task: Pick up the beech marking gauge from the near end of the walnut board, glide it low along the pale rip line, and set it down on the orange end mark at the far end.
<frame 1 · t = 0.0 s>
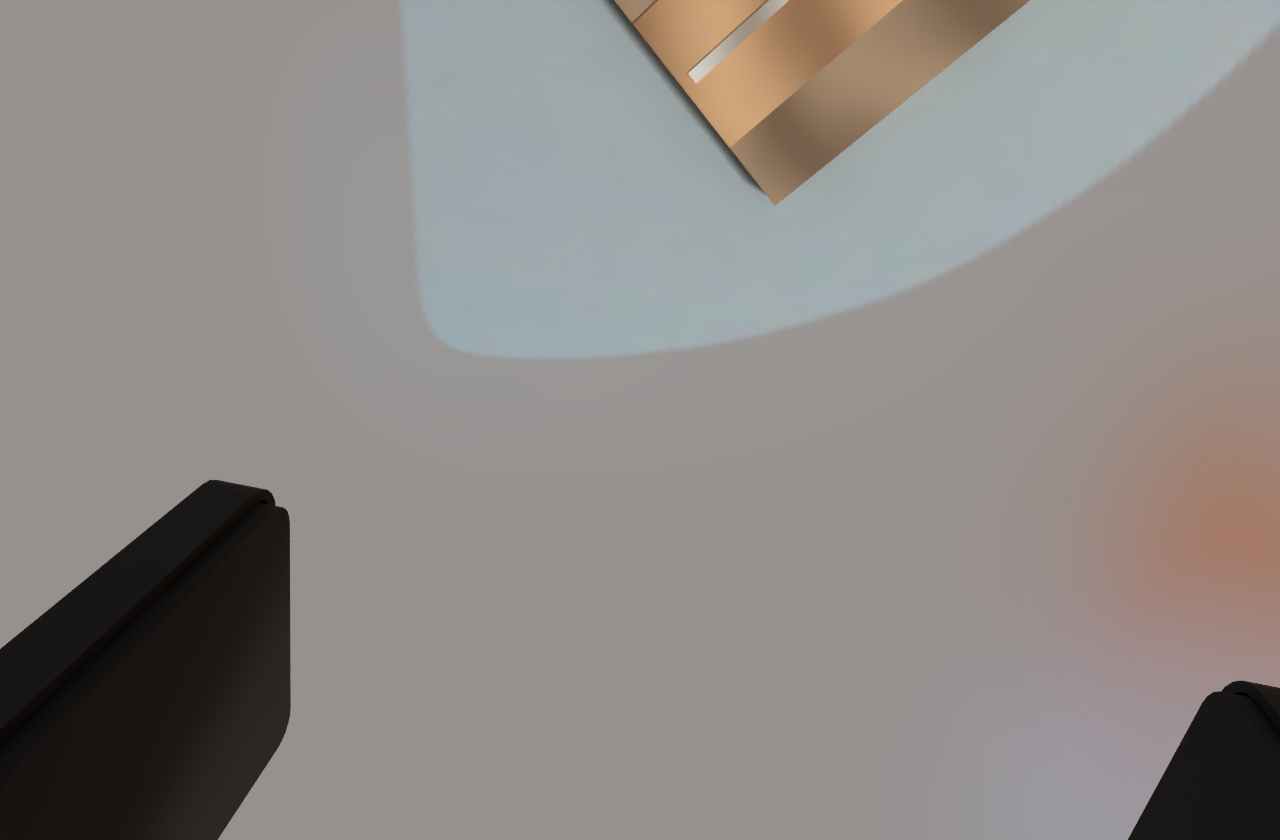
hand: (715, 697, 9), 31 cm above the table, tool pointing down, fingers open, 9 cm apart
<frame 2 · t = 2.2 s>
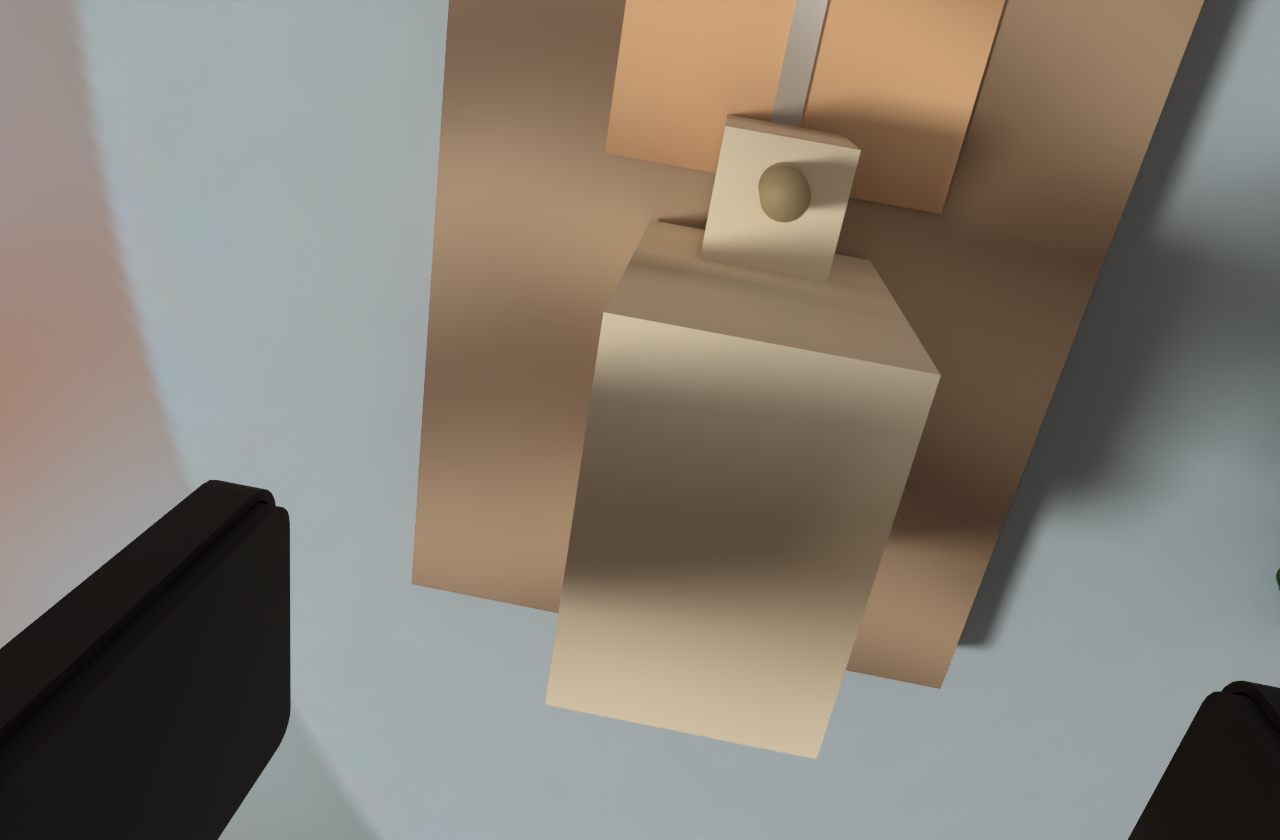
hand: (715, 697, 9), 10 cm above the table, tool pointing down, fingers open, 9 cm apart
board: (780, 117, 16), on the table
gauge: (726, 392, 17), point 2 cm above the table, touching board
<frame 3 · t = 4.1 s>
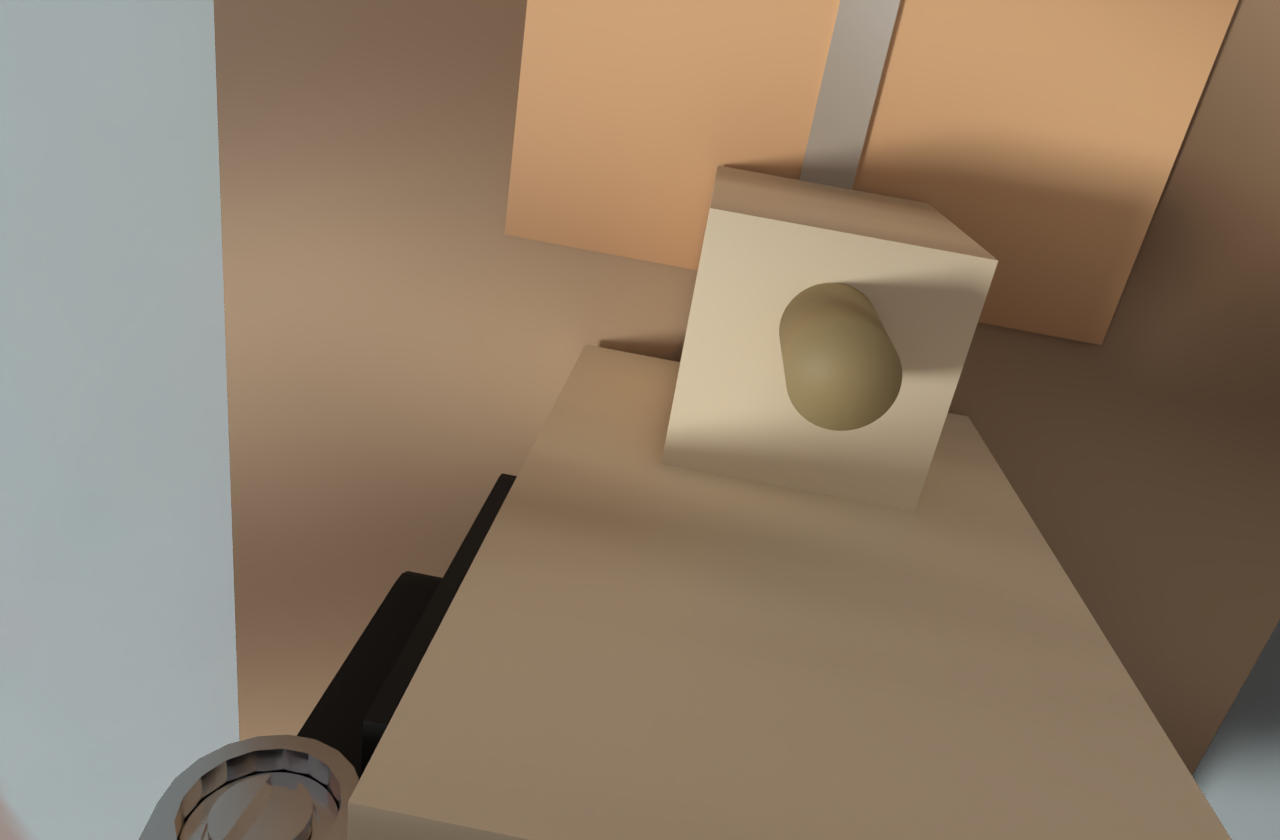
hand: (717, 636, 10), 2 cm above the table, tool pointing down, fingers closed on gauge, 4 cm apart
board: (811, 166, 10), on the table
gauge: (718, 615, 10), point 2 cm above the table, touching board, gripper
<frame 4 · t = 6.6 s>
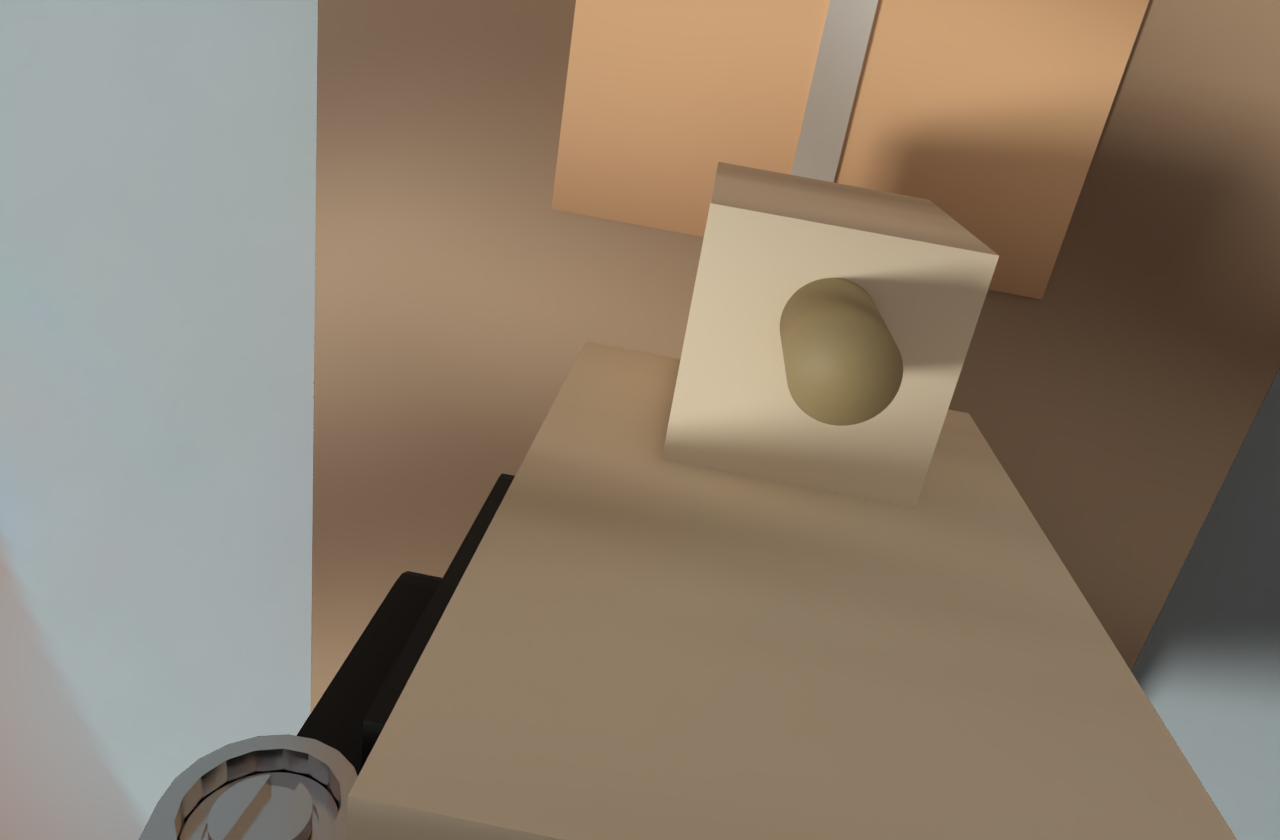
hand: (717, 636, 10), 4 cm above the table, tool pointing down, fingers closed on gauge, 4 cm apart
board: (805, 154, 12), on the table
gauge: (719, 613, 10), point 4 cm above the table, touching gripper
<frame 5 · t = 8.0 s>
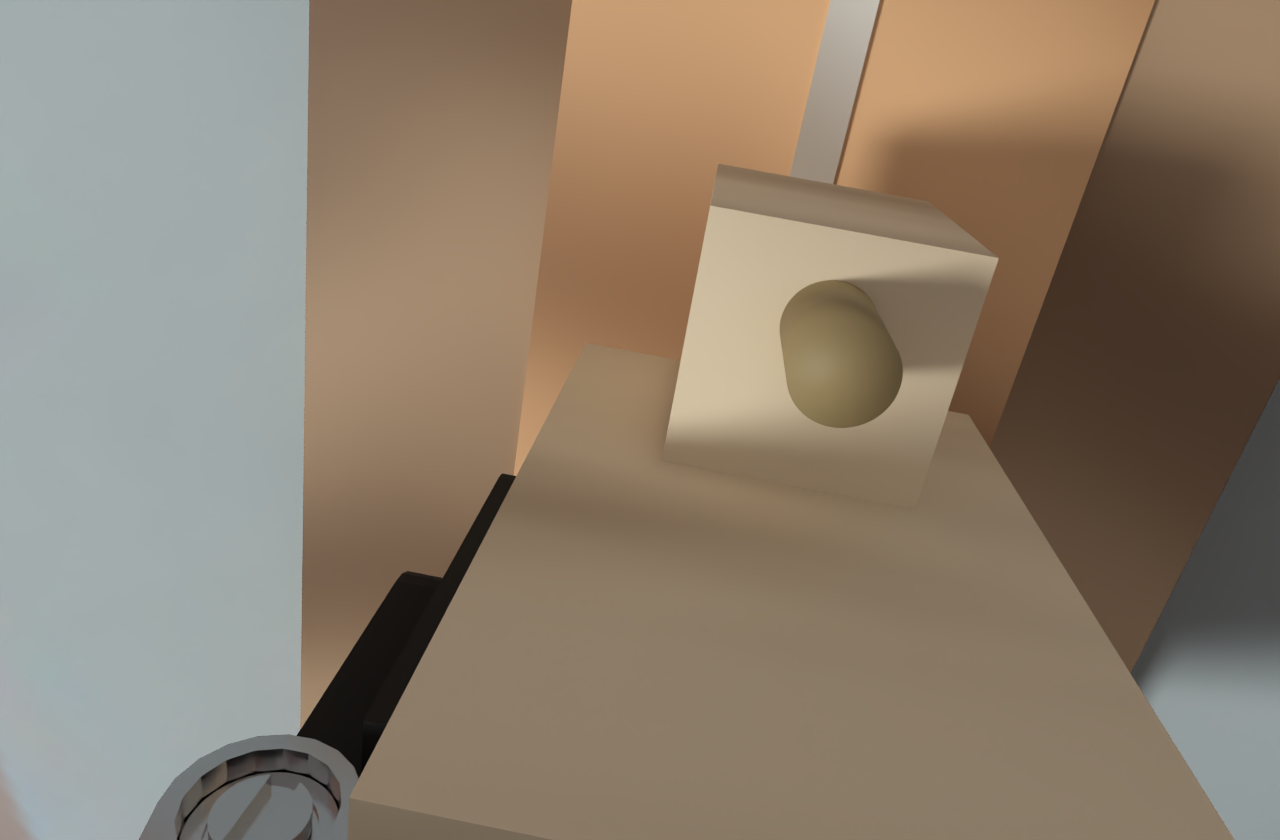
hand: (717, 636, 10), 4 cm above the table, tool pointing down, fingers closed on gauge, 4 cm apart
board: (693, 622, 14), on the table
gauge: (719, 614, 10), point 3 cm above the table, touching gripper
when the fingers open (3 cm above the table, at t = 9.2 s): gauge stays where it is, resting on board.
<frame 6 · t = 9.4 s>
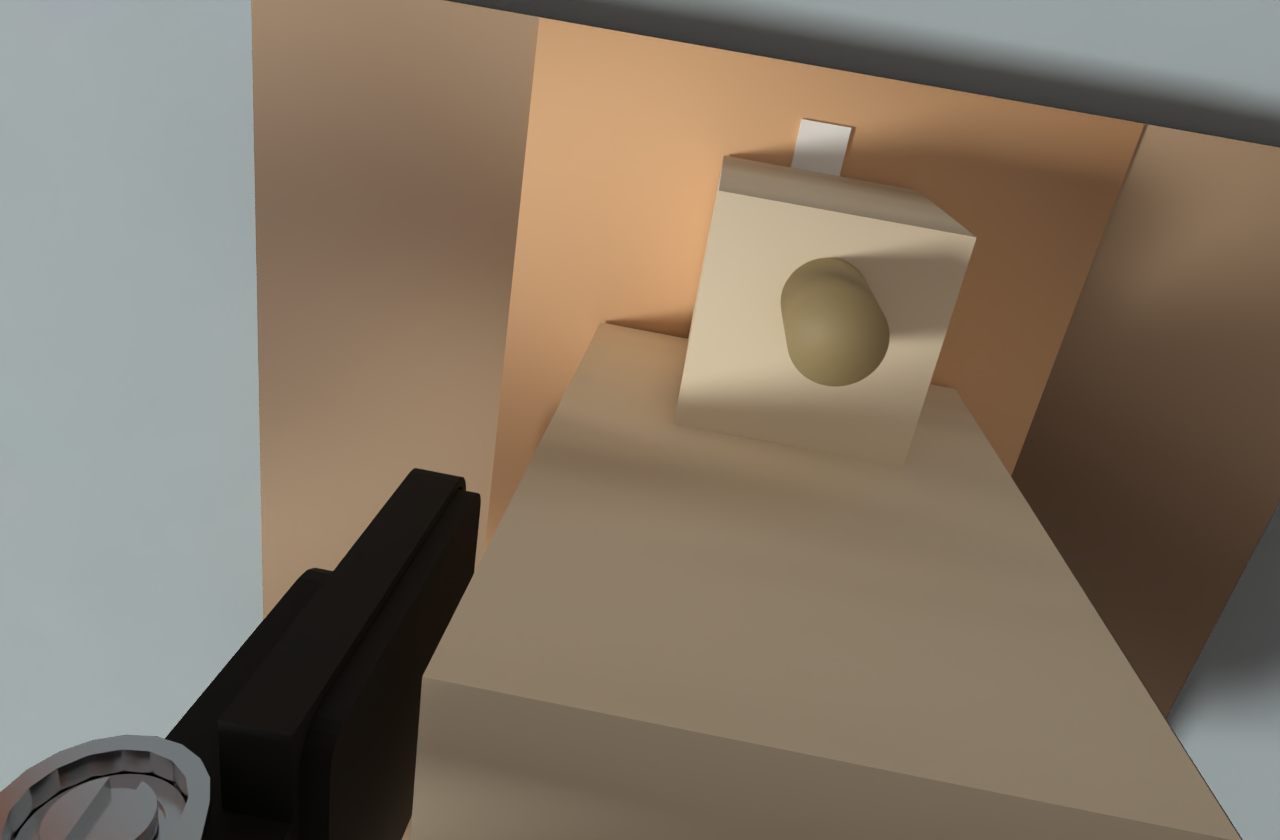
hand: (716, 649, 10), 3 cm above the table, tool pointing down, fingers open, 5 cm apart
board: (662, 773, 14), on the table
gauge: (723, 578, 11), point 2 cm above the table, touching board
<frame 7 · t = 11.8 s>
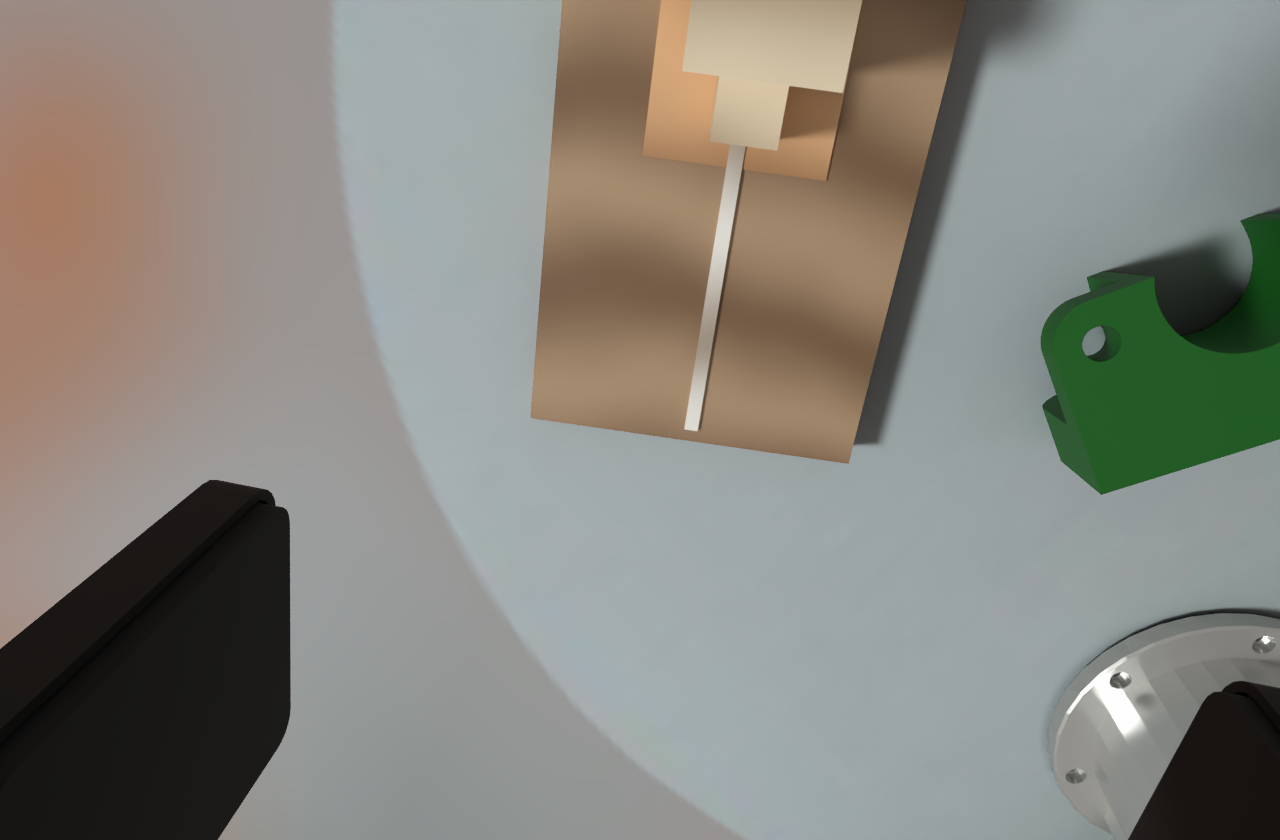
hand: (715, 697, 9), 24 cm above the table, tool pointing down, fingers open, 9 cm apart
board: (737, 130, 29), on the table
clamp: (1179, 308, 31), on the table
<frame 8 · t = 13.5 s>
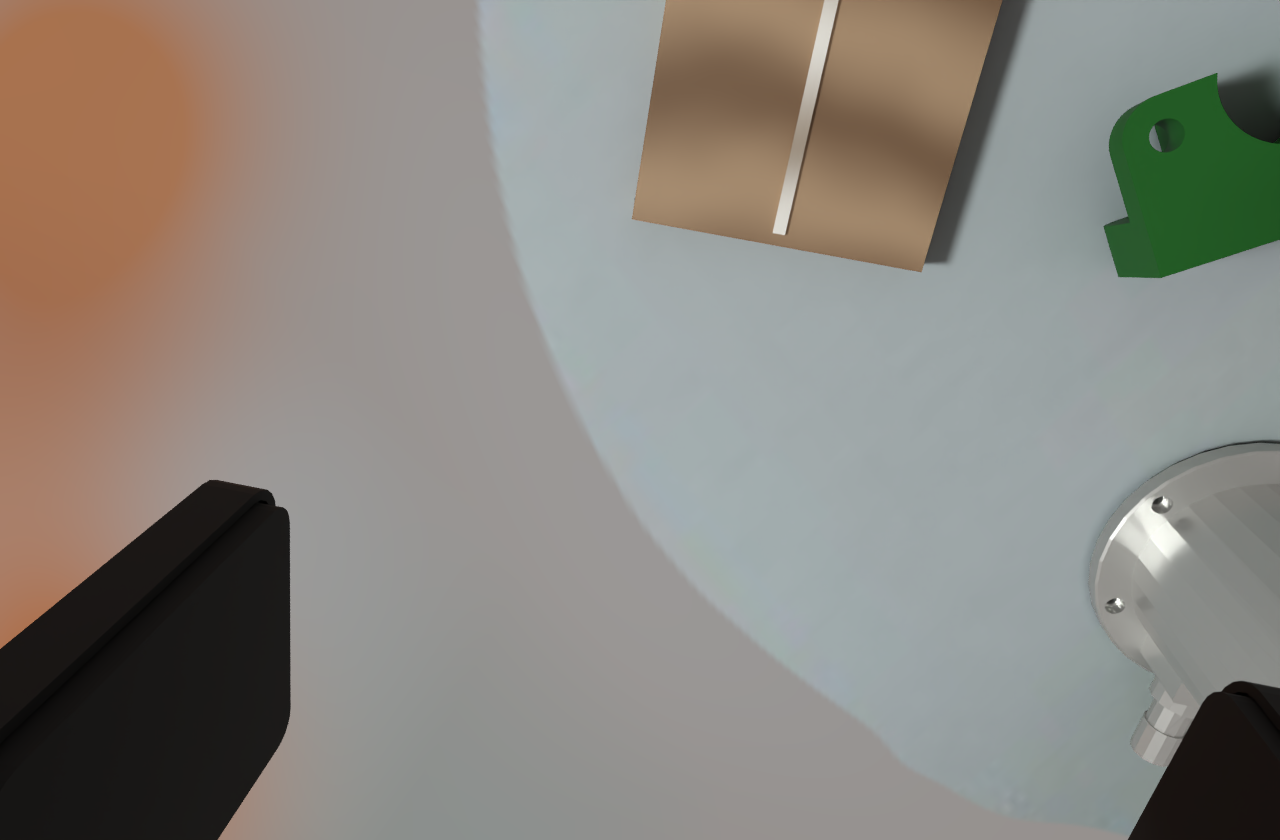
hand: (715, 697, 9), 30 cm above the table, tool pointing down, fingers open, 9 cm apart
clamp: (1233, 138, 34), on the table
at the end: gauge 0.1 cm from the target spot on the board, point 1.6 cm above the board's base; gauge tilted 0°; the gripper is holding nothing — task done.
